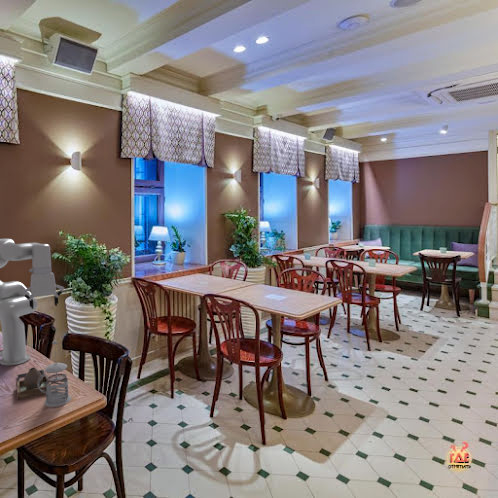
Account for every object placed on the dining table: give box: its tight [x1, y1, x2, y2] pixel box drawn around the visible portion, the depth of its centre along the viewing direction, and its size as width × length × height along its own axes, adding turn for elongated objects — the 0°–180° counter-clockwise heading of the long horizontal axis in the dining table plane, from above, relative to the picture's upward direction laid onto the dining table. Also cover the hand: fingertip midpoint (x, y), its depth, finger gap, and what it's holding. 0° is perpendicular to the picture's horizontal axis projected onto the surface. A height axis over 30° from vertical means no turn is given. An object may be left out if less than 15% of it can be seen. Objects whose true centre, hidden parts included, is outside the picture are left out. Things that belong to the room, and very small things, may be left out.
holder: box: [16, 374, 51, 401], centre depth 159 cm, size 12×12×3 cm
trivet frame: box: [17, 369, 45, 381], centre depth 169 cm, size 10×10×1 cm
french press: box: [37, 340, 72, 408], centre depth 149 cm, size 10×12×25 cm
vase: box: [23, 367, 43, 390], centre depth 158 cm, size 7×7×9 cm
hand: (44, 306), depth 176 cm, fingers open, 9 cm apart
